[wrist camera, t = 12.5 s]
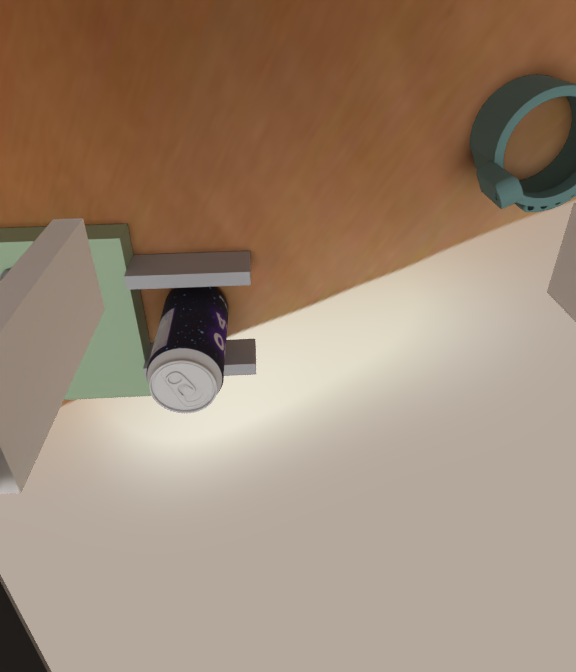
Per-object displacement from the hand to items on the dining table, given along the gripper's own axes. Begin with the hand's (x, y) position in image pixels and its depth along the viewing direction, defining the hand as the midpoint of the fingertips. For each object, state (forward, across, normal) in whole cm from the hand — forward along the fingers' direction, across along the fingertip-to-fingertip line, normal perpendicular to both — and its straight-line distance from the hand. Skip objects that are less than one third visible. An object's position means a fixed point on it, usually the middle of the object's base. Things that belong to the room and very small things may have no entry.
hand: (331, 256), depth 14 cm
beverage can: (+29, -8, -18) cm, 35 cm away
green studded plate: (+29, -14, -18) cm, 37 cm away
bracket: (+29, +19, -4) cm, 35 cm away
